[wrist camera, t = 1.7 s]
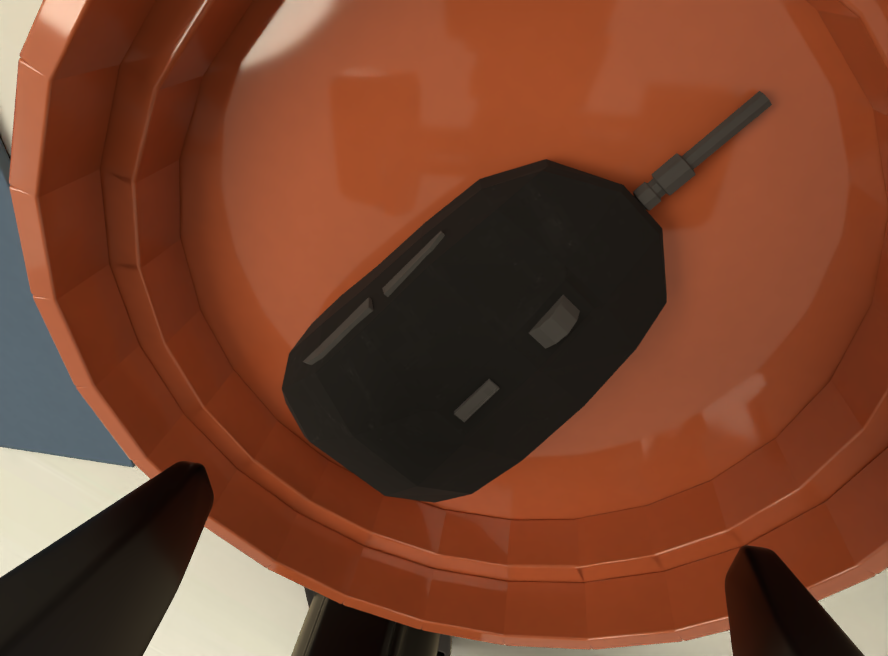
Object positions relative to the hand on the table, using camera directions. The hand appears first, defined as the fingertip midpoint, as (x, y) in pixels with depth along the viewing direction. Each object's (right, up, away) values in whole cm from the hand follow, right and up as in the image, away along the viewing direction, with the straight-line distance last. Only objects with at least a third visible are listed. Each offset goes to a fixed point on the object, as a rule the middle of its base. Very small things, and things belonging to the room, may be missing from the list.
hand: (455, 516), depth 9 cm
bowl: (+1, +4, +6) cm, 7 cm away
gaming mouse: (+1, +4, +6) cm, 7 cm away
